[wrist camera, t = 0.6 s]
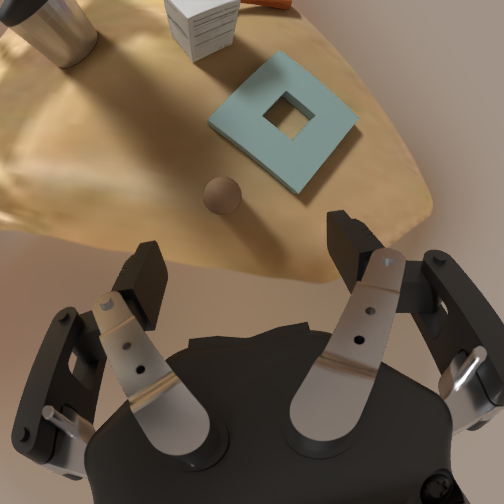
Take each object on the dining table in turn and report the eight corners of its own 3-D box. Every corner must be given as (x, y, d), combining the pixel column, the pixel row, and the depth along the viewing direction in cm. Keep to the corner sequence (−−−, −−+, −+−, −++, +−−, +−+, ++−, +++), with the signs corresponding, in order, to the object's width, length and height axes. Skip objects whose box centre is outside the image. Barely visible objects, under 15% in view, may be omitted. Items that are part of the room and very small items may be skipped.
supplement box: (170, 37, 31) (159, -10, 19) (210, 18, 31) (212, -30, 19) (192, 65, 33) (186, 19, 20) (234, 45, 33) (243, -3, 20)
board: (207, 124, 35) (207, 119, 33) (275, 57, 34) (279, 49, 31) (293, 193, 39) (298, 193, 36) (351, 121, 38) (359, 118, 35)
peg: (199, 198, 37) (194, 199, 27) (217, 175, 37) (219, 168, 27) (222, 216, 38) (225, 223, 28) (240, 193, 38) (249, 192, 28)
